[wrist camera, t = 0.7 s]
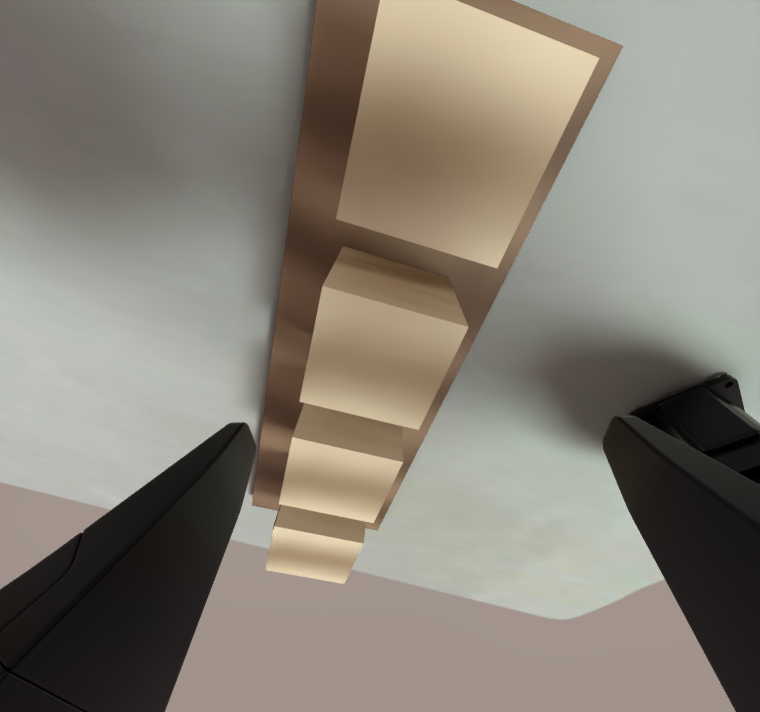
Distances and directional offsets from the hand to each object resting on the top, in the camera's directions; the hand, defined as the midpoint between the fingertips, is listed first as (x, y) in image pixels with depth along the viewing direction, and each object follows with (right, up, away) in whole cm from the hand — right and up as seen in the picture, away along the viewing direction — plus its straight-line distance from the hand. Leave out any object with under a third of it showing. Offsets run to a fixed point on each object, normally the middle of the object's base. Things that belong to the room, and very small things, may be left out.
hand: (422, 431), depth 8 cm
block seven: (-1, +5, +11) cm, 12 cm away
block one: (+1, +11, +7) cm, 13 cm away
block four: (-6, -9, +20) cm, 23 cm away
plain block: (-3, -2, +16) cm, 16 cm away
